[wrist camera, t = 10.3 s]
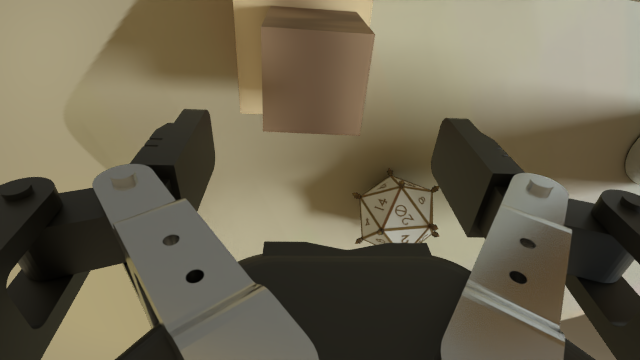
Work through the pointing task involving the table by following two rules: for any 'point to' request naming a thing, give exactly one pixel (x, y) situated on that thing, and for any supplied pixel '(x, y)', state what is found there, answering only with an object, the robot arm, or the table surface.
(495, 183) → the robot arm
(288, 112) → the block
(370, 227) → the game die
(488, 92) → the table surface
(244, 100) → the tower top
